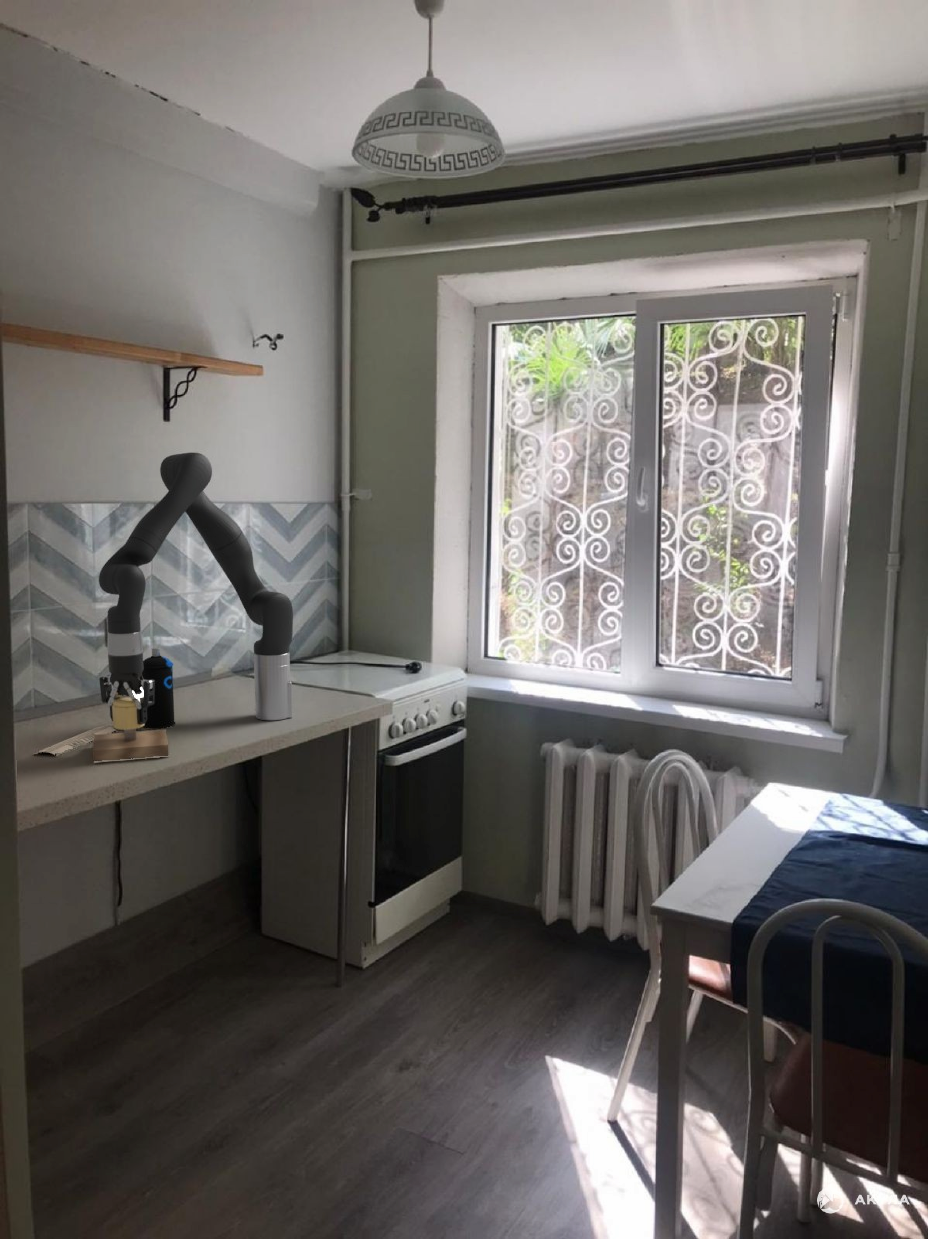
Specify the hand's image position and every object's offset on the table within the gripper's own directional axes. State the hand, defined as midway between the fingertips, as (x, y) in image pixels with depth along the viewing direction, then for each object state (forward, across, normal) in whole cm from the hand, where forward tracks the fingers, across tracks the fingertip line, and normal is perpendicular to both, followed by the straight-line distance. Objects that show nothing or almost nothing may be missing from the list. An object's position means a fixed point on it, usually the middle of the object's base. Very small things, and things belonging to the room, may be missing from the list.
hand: (128, 722), depth 229 cm
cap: (+1, 0, 0) cm, 1 cm away
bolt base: (+7, 0, 0) cm, 7 cm away
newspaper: (+8, +17, -2) cm, 18 cm away
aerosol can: (+7, +10, -23) cm, 26 cm away
